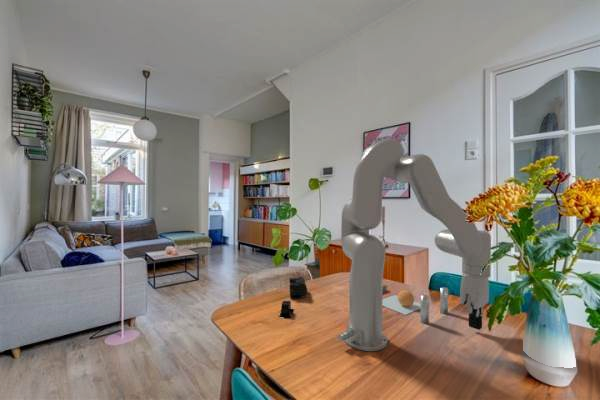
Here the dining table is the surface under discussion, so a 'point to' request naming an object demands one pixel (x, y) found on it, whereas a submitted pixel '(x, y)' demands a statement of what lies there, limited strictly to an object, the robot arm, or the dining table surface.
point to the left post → (425, 309)
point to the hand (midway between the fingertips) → (475, 327)
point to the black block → (286, 310)
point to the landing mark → (399, 305)
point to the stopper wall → (384, 287)
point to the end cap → (297, 288)
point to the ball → (405, 298)
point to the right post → (444, 300)
